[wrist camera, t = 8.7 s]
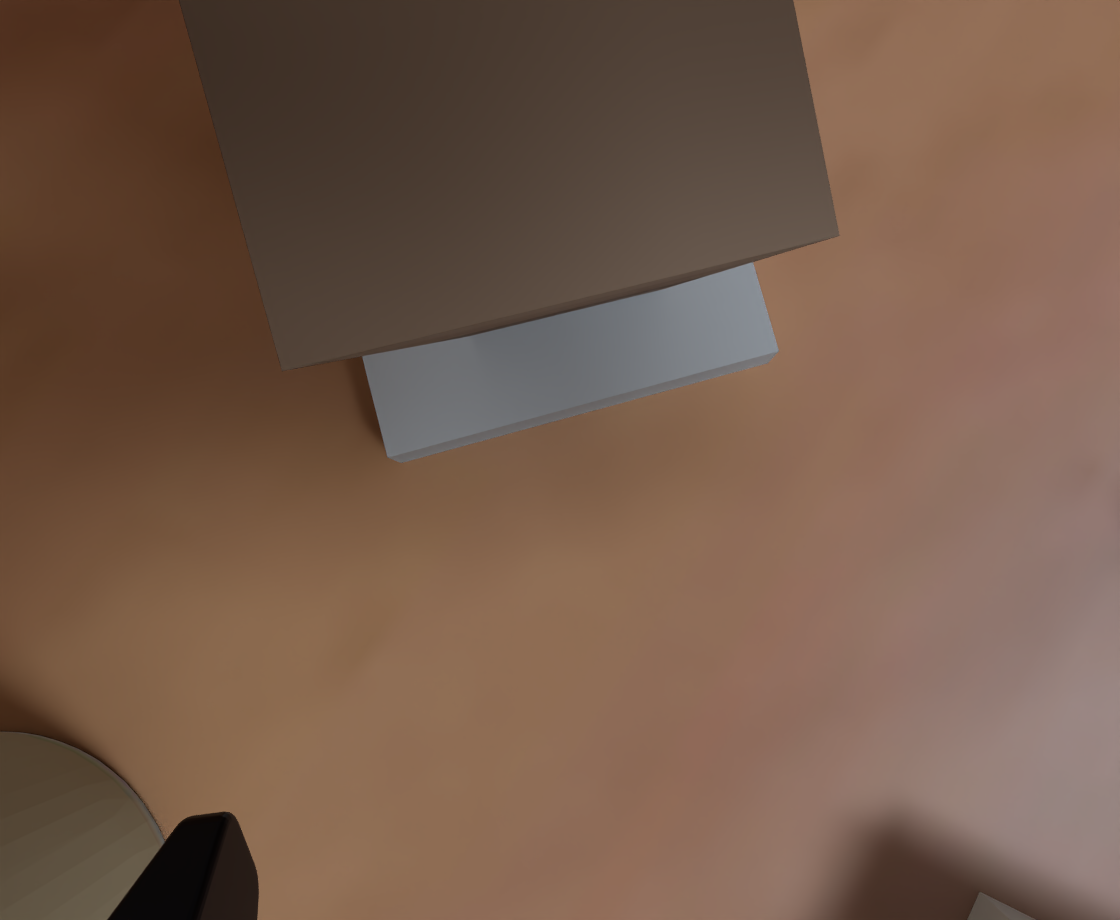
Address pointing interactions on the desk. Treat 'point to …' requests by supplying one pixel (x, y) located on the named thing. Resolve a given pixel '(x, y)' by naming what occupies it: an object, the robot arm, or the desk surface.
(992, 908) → the light grey brick
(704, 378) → the grey slab
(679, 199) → the walnut block
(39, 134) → the desk surface
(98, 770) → the coffee cup
